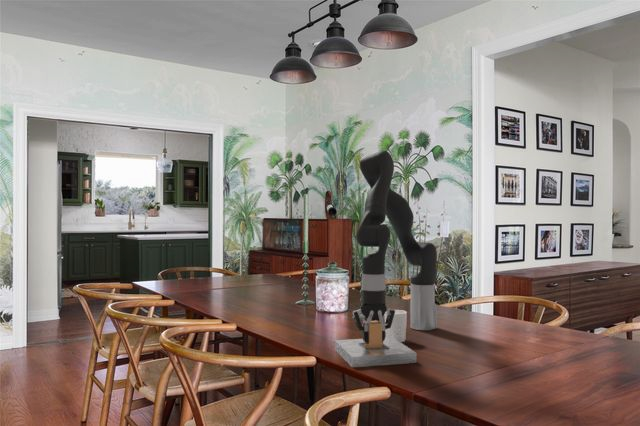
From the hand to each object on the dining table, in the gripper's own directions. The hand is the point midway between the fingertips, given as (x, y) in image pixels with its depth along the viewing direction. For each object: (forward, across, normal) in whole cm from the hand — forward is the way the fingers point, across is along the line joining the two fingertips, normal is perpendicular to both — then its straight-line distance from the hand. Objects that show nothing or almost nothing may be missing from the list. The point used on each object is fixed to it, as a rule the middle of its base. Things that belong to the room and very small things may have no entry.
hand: (373, 342), depth 159 cm
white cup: (+4, -14, -17) cm, 22 cm away
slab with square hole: (+4, 0, 0) cm, 4 cm away
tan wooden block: (+3, 0, 0) cm, 3 cm away
